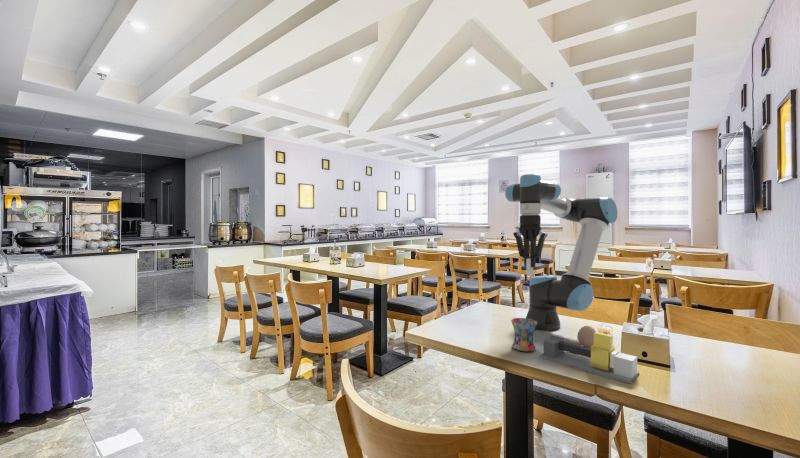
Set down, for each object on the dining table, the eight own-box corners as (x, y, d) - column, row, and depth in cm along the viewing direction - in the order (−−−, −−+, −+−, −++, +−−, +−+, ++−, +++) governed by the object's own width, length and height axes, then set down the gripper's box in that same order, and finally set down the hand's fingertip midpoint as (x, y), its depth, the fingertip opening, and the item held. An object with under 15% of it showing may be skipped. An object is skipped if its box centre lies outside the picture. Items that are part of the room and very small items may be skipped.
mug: (530, 355, 129) (530, 326, 129) (506, 349, 136) (506, 321, 135) (543, 347, 138) (544, 319, 137) (521, 341, 144) (521, 315, 144)
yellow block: (597, 360, 121) (598, 330, 120) (614, 365, 117) (614, 333, 117) (590, 366, 116) (591, 334, 116) (607, 370, 113) (608, 338, 112)
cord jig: (551, 350, 134) (552, 332, 134) (639, 374, 114) (639, 353, 113) (539, 357, 127) (539, 338, 127) (629, 383, 107) (630, 361, 107)
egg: (597, 346, 139) (597, 324, 139) (599, 352, 132) (599, 329, 132) (576, 343, 142) (577, 322, 142) (577, 349, 135) (577, 327, 135)
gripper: (509, 214, 140) (509, 274, 141) (542, 214, 131) (542, 278, 131) (518, 214, 145) (518, 272, 146) (551, 214, 136) (550, 276, 137)
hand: (529, 275), depth 139 cm, fingers closed
